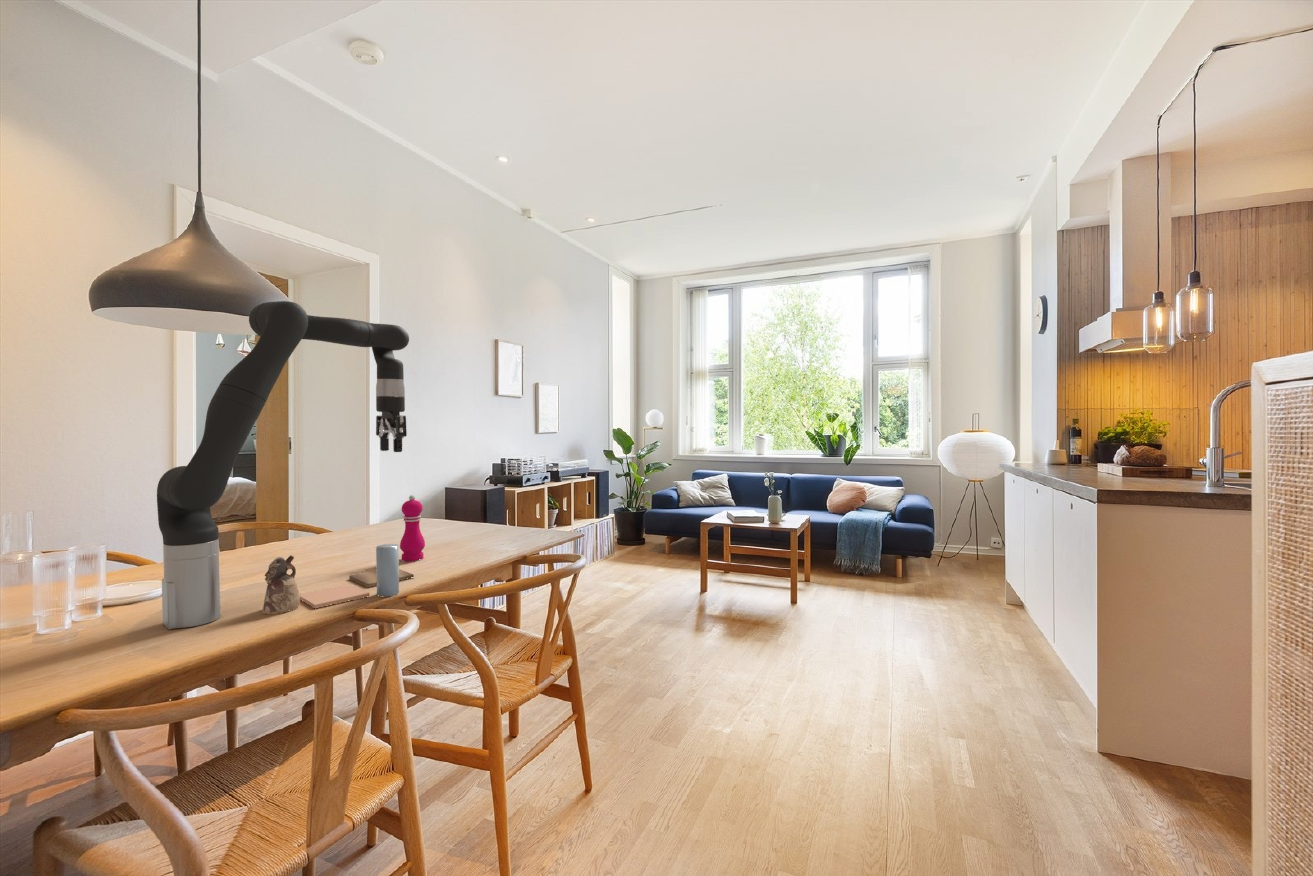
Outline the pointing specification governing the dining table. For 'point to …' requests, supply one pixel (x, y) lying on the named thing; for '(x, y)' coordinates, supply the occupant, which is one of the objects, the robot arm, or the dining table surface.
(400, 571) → the walnut board
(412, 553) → the pepper mill
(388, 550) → the canister
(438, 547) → the dining table surface
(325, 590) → the terracotta tile
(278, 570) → the figurine
